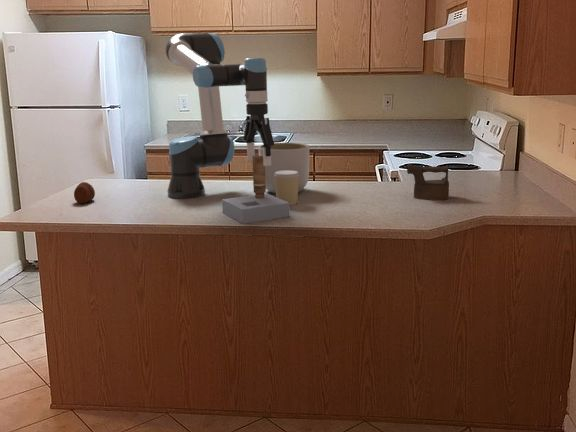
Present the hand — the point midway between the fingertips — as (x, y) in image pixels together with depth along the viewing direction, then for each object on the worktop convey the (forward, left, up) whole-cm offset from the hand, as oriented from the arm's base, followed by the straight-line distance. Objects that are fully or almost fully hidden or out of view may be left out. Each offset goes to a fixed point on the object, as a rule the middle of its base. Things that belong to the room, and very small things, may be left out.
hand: (259, 163), depth 229 cm
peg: (0, 0, -13) cm, 13 cm away
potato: (-52, -53, -18) cm, 76 cm away
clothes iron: (+16, +65, -18) cm, 69 cm away
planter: (-25, +23, -18) cm, 38 cm away
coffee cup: (-6, +14, -18) cm, 24 cm away
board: (+4, -4, -18) cm, 19 cm away
